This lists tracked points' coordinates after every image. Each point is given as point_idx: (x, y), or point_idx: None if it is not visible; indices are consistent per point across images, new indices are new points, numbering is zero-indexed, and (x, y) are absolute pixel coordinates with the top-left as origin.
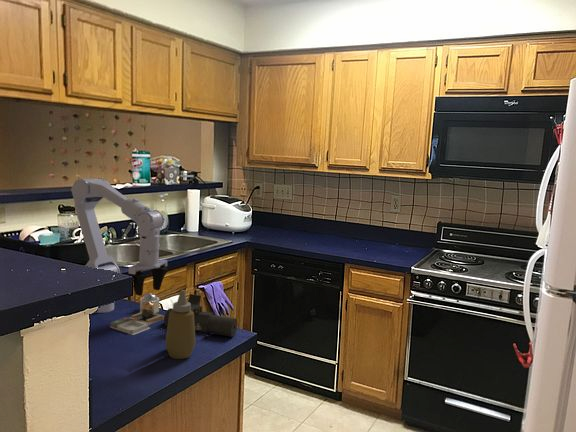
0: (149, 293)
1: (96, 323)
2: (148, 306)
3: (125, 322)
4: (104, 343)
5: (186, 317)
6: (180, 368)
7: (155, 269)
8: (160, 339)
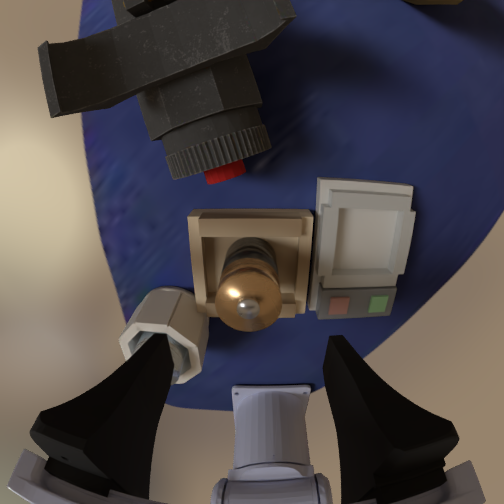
0: None
1: None
2: (270, 279)
3: (359, 284)
4: (466, 229)
5: None
6: None
7: (132, 481)
8: (358, 87)
